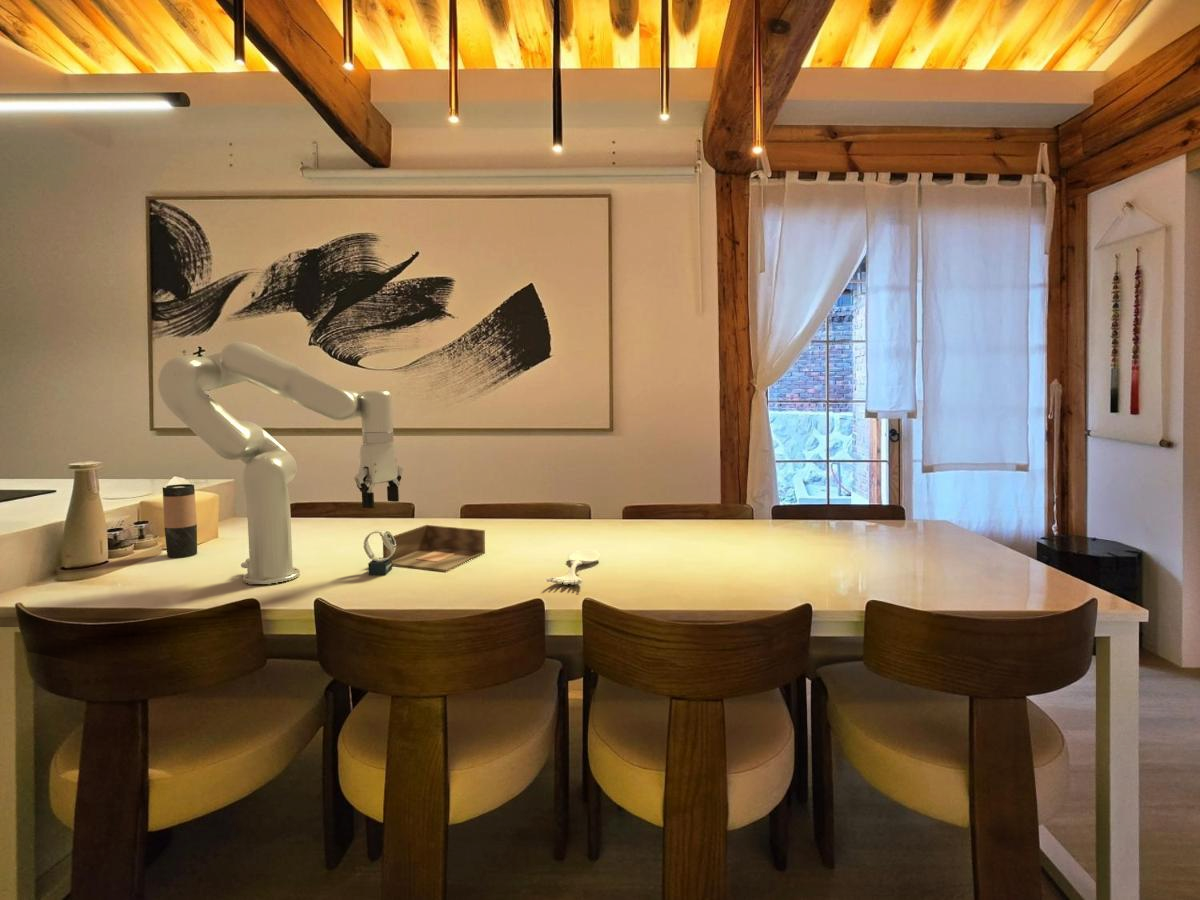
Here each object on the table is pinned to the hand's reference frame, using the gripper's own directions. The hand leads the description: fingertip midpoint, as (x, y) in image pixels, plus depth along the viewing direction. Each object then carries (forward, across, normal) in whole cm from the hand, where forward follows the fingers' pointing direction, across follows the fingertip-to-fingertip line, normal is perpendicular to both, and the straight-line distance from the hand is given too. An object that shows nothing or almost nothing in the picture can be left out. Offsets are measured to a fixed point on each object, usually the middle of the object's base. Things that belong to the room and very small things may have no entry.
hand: (381, 504), depth 161 cm
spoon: (+19, -17, +47) cm, 54 cm away
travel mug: (+17, +6, -65) cm, 67 cm away
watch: (+18, 0, -1) cm, 18 cm away
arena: (+18, -16, +5) cm, 25 cm away
